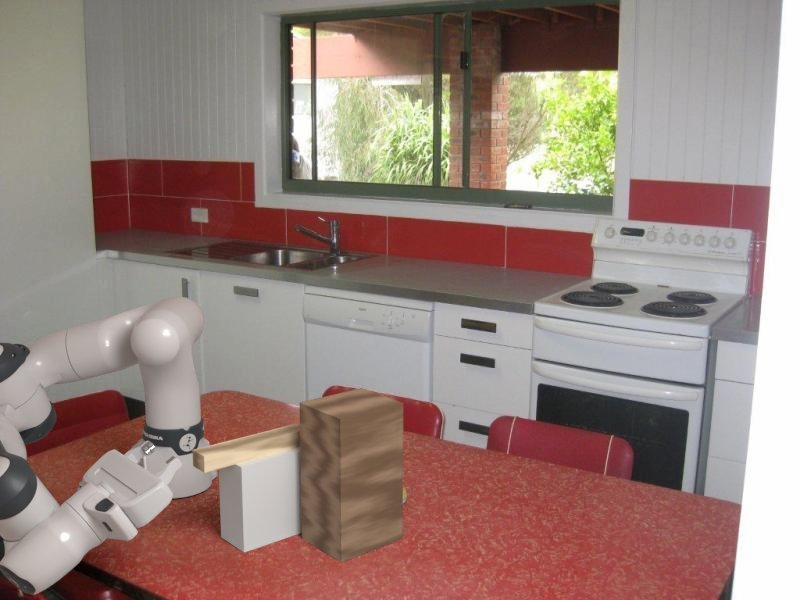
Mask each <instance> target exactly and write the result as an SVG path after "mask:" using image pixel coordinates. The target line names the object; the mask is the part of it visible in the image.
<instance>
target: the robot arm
mask: <svg viewBox="0 0 800 600" xmlns="http://www.w3.org/2000/svg"><path fill="white" fill-rule="evenodd" d="M204 325H205V313H204V312H203V308H202V307H201V306H200V305H199V303H198V302H197V301H195V300H194V299H191V298H190V297H186V296H172V297H169V298H164V299H161V300H158V301H155V302H152V303H148V304H145V305H142V306H139V307H135V308H133V309H129V310H127V311H123V312H120V313H117V314H115V315H111V316H109V317H108V316H107V317H104V318H101V319H97V320H94V321H90V322H89V321H88V322H86V323H83V324H78V325H74V326H70V327H66V328H64V329H61V330H57V331H54V332H52V333H50V334H47V335H45V336H43V337H40V338H38V339H36V340H34V341H32V342H31V343H29V344H28V346H27V345H25V344H22V343H11V342H0V537H1V538H2V539H3V545H4V556H3V557H2V559H1V560H0V572H1V573H2V575H3V576H4V577H5V579H7V581H8V582H9V583H11V584H12V585H14V586H15V588H17V589H19V590H20V591H21V592H23V593H25V594H27V595H32V596H34V595H37V594H39V593H41V592H44V591H45V590H47V589H49V588H50V587H51V586H53V585H54V584H56V583H57V582H58V581H60V580H61V579H62V578H64V577H65V576H66V575H67V574H69V572H71V571H72V570H73V569H74V568H75V567H76V566H78V564H80V562H81V561H82V559H83V558H84V557H85V556H86V554H88V552H89V551H91V550H92V549H94V548H97V547H98V546H101V544H102V543H103V542H104V541H106V540H107V539H108V540H121V541H129V542H130V541H131V540H132V539H134V538H135V537H136V536H137V535H138V532H139V531H138V529H139V528H142V527H144V526H147V524H149V523H150V522H151V521H152V520H154V519H155V518H156V517H157V516H158V515H159V514H160V513H162V512H163V510H164V509H166V508H167V507H168V506H169V504H171V502H172V499H179V498H180V499H181V498H187V497H192V496H194V495H197V494H200V493H202V492H204V491H206V490H208V489H210V487H211V485H212V483H213V480H214V479H216V478H217V477H219V473H218V469H217V470H213V471H210V472H206V473H204V472H202V471H201V470H199V469H197V468H195V467H194V466H193V451H192V450H194V449H198V448H202V447H206V446H210V442H209V440H207V438H205V437H204V436H205V423H204V419H203V417H202V406H201V383H200V380H199V378H198V377H197V373H196V368H195V364H194V358H193V347H194V344H195V343H196V342H197V341H198V340H199V339H200V338H201V336H202V334H203V331H204ZM135 365H138V367H139V371H140V374H141V378H142V384H143V391H144V405H145V407H144V408H145V409H144V410H145V411H144V412H145V419H143V420H142V423H143V424H142V427H143V428H142V435H141V439H139V440H138V441H137V442H136V443H135V444H134V445H133V446H132V447H131V448H130V449H129V450H128V451H127V452H126V453H124V454H123V453H121V452H120V451H118V449H112V450H109V451H107V452H106V453H104V454H103V455H102V456H101V457H100V458H99V459H98V460H97V461H96V462H95V463H94V464H93V465H92V466H90V468H89V469H88V470H87V471H86V472H85V473H84V474H83V476H82V480H80V482H79V483H78V487H77V489H76V492H74V494H72V495H71V496H69V498H67V499H65V501H64V502H63V503H62V504H61V505H60V504H59V502H58V501H57V500H56V499H55V497H54V496H53V495H52V494H51V492H50V491H49V490H48V489H47V487H46V486H45V485H44V483H43V482H42V481H41V479H39V477H38V476H37V474H36V473H35V471H34V469H33V468H32V467H31V465H30V464H29V462H28V461H27V459H28V455H27V454H28V453H27V448H26V445H29V444H33V443H36V442H39V441H40V440H42V439H44V438H45V437H46V436H48V435H49V433H50V432H51V431H52V430H53V428H54V426H55V425H56V423H57V419H58V418H57V413H56V410H55V406H54V404H53V402H52V401H51V400H50V398H49V396H48V394H47V392H46V391H45V389H46V388H48V387H49V386H51V385H52V386H53V385H62V384H63V385H65V384H68V383H69V384H70V383H77V382H80V381H84V380H88V379H91V378H92V379H93V378H96V377H102V376H103V375H104V376H105V375H109V374H112V373H115V372H119V371H124V370H126V369H128V368H130V367H132V366H135Z"/></svg>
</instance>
